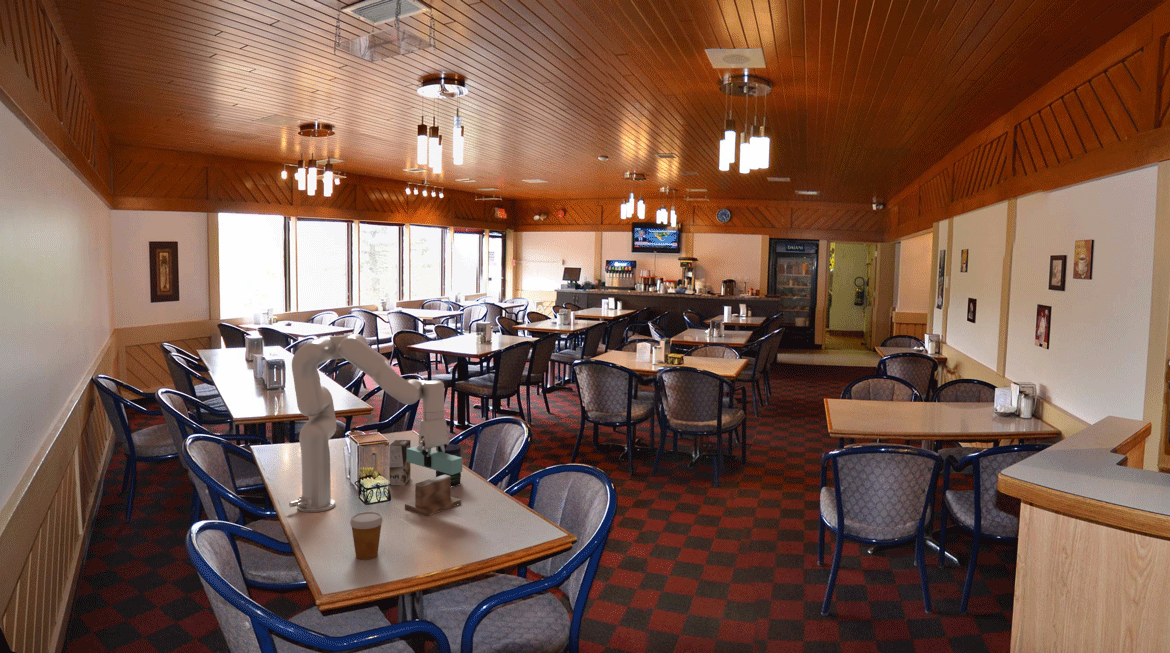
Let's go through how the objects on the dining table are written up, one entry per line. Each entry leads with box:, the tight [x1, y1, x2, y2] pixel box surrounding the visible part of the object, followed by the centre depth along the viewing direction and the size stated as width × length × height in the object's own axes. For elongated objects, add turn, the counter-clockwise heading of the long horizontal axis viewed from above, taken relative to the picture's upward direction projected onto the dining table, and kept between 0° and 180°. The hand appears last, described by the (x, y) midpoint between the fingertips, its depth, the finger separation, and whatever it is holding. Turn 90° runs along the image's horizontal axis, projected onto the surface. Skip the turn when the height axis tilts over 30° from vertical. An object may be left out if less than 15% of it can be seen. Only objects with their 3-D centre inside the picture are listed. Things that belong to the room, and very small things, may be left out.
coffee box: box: [388, 439, 412, 486], centre depth 279 cm, size 9×6×16 cm
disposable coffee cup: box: [349, 511, 384, 561], centre depth 210 cm, size 10×10×12 cm
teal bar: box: [407, 445, 463, 475], centre depth 252 cm, size 24×5×5 cm, turn 54°
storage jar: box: [435, 443, 462, 487], centre depth 279 cm, size 10×10×15 cm
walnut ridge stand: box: [404, 474, 462, 517], centre depth 253 cm, size 16×12×10 cm
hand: (433, 464), depth 252 cm, fingers closed on teal bar, 5 cm apart
